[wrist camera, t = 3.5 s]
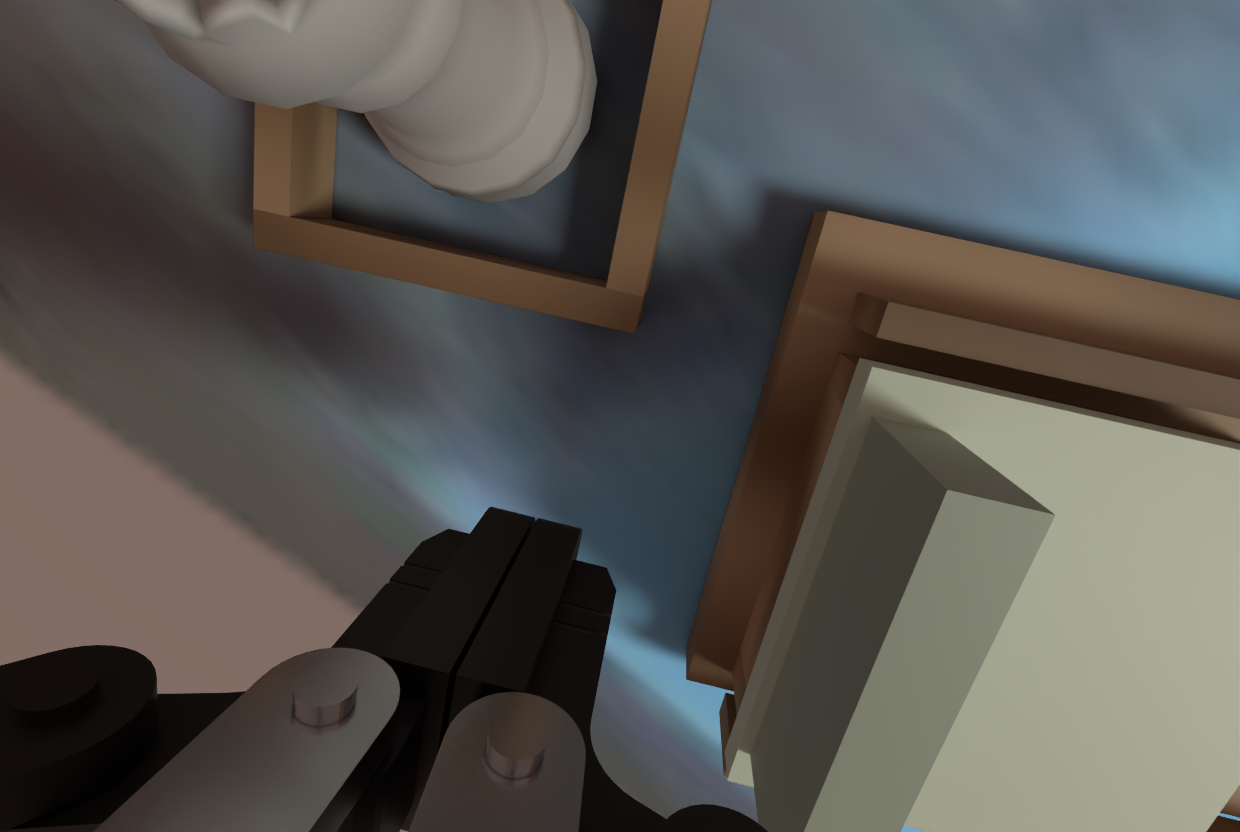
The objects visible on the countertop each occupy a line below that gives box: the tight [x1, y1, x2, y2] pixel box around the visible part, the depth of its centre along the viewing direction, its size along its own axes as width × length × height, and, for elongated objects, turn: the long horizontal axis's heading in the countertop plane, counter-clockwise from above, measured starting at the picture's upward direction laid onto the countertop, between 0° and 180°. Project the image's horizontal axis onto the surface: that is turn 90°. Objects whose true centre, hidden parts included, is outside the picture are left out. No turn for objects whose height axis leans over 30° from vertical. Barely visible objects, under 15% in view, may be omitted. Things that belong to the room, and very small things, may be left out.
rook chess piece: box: [116, 0, 597, 204], centre depth 8 cm, size 4×4×8 cm
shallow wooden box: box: [686, 211, 1240, 832], centre depth 12 cm, size 12×20×3 cm, turn 78°
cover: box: [725, 358, 1240, 832], centre depth 9 cm, size 8×8×4 cm
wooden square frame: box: [253, 0, 712, 334], centre depth 11 cm, size 8×8×2 cm
